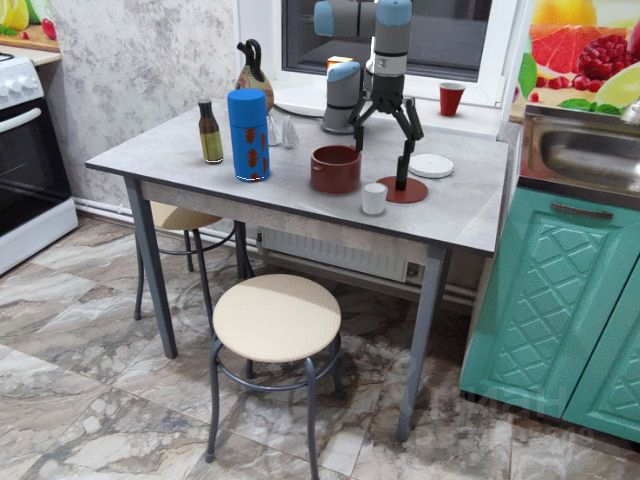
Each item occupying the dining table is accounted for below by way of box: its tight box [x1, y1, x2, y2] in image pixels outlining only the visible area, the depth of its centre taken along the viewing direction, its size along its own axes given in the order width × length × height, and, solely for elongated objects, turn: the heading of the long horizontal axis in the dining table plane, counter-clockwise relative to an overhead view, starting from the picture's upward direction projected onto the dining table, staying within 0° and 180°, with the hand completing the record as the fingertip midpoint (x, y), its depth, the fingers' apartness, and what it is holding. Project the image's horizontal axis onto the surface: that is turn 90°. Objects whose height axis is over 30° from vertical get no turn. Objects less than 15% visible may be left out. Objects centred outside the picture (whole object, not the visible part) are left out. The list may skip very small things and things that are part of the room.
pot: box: [310, 144, 363, 195], centre depth 140 cm, size 15×20×10 cm
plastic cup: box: [438, 82, 467, 118], centre depth 190 cm, size 11×11×12 cm
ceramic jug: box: [234, 38, 275, 118], centre depth 181 cm, size 17×15×30 cm
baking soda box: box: [326, 56, 355, 72], centre depth 208 cm, size 10×6×16 cm
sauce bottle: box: [197, 98, 224, 165], centre depth 149 cm, size 6×6×20 cm
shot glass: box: [361, 181, 388, 215], centre depth 127 cm, size 7×7×7 cm
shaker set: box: [267, 115, 301, 149], centre depth 163 cm, size 12×4×11 cm, turn 67°
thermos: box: [226, 89, 271, 184], centre depth 140 cm, size 11×11×25 cm
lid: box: [375, 155, 429, 204], centre depth 135 cm, size 16×16×11 cm
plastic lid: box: [408, 153, 454, 179], centre depth 149 cm, size 14×14×2 cm
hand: (381, 158), depth 122 cm, fingers open, 13 cm apart
